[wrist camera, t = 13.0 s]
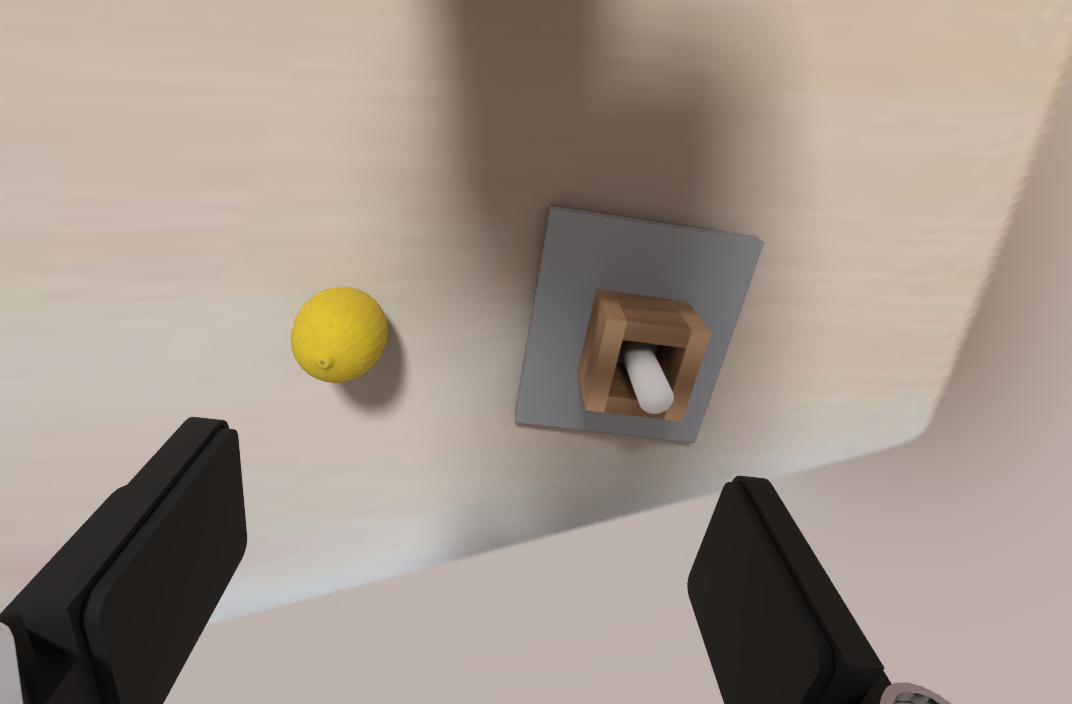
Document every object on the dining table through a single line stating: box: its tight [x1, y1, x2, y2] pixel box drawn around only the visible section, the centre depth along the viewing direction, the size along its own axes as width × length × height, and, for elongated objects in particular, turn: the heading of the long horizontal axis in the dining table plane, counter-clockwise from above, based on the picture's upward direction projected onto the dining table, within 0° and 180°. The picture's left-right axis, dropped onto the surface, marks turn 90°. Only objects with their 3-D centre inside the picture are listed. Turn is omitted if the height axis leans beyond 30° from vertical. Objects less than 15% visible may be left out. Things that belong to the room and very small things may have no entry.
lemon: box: [291, 287, 388, 383], centre depth 36 cm, size 6×6×8 cm
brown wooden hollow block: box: [578, 289, 711, 422], centre depth 38 cm, size 6×6×5 cm
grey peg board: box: [515, 205, 764, 443], centre depth 37 cm, size 16×14×9 cm
